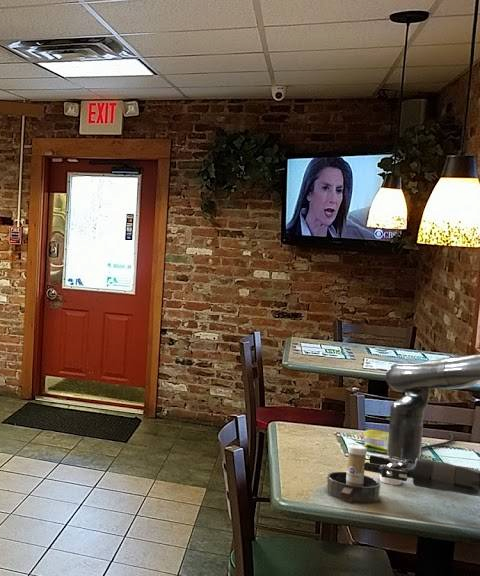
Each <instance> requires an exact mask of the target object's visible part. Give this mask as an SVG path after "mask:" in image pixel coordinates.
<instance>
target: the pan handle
mask: <svg viewBox="0 0 480 576" xmlns="http://www.w3.org/2000/svg"><path fill="white" fill-rule="evenodd" d="M340 500H342V502H345V503H351V504H352V503H354V502H353V488H349V487H344V489H343V490H342V491H341V499H340Z"/></svg>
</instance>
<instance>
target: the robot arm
mask: <svg viewBox="0 0 480 576" xmlns="http://www.w3.org/2000/svg"><path fill="white" fill-rule="evenodd" d="M385 381H386V384H387V385H388V387H389V388H390V389H391V390H393V391H395V392H398V393H405V394H404V395H403V396H402V397H400V398H399V399H396V400H394V401H392V402H391V404H390V412H389V426H388V432H389V436H388V448H387V453H386V455H385V456H389V457H385V458H384V457H380V455H379V456H378V455H373V454H372V455H370V456H369V462H367V461H365V465H364V472H365V471H366V472H370V473H375V474H379V476H380V475H381V476H382V477H386V478H391V479H397V480H402V482H407V481H408V479H409V478H410V479H412V484H413V486H415V487H418V488H419V487H420V488H424V489H428V490H429V489H430V490H434V491H439V492H446V493H448V492H449V493H455V494H459V495H465V496H473V497H479V498H480V470H479V469H476V468H471V467H467V466H461V465H455V464H452V463H448V462H444V461H437V460H433V459H427V458H422V457H421V455H422V450H424V449H430V448H436V447H440V446H446V445H448V444H451V443H452V442H453V441H454V440H455V434H454V433H453V432H452V431H451V432H450V433H449V436H450V437H451V438H450V439H449V440H447V441H443V442H438V443H434V444H428V445H423V446H422V441H423V431H424V430H423V429H424V415H425V411H426V409H427V407H428V401H429V394H430V389H434V390H461V389H469V388H472V387H473V386H475V385H477V384H478V383H479V382H480V353H478V354H469V355H468V354H467V355H459V356H450V357H449V356H448V357H442V358H438V359H432V360H427V361H424V362H419V363H418V362H397V363H395V364H392V365H391V366H389V367H388V369H387V371H386V373H385ZM393 456H394V457H393ZM384 464H385V465H384ZM387 471H388V472H387Z"/></svg>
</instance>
